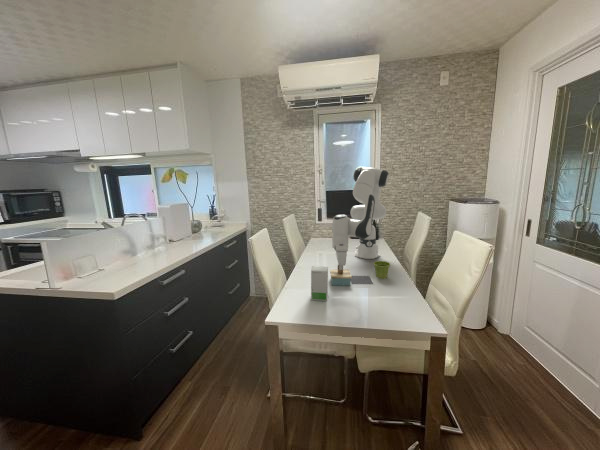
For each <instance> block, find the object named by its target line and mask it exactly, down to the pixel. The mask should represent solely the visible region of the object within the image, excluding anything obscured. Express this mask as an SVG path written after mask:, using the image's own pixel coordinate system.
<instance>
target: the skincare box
mask: <svg viewBox="0 0 600 450" xmlns="http://www.w3.org/2000/svg"><path fill="white" fill-rule="evenodd" d="M328 277H329V267H328V266H317V265H316V266H315V265H314V266H311V270H310V282H311V283H310V300H311V301H320V302H328V295H329V293H328V291H329V288H328V284H329V278H328Z"/></svg>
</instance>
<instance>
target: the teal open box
mask: <svg viewBox="0 0 600 450" xmlns="http://www.w3.org/2000/svg"><path fill="white" fill-rule="evenodd" d="M330 281H331V286H332V287H335V286H337V287H338V286H339V287H341V286H343V287H351V281H350V278H339V279H331V278H330Z"/></svg>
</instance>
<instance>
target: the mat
mask: <svg viewBox="0 0 600 450" xmlns="http://www.w3.org/2000/svg"><path fill="white" fill-rule="evenodd" d="M351 276H352V278H350V285H374V282H373V280H372V279H371V277H370V275H351Z"/></svg>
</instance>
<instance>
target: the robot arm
mask: <svg viewBox="0 0 600 450" xmlns="http://www.w3.org/2000/svg"><path fill="white" fill-rule="evenodd" d="M353 180H354V182H355V184H354V187H353V189H352V195H353V197H354V199H355V200H356V201H357V202H359V203H361V204H359V205H353V206H352V207H351V208H350V212H349V213H350V216H351V218H350V217H348V215H347V214H336V215H335V216H333V218H332V224H331V225H332V226H331V229H332V230H331V232H332V238H331V239H332V240H331V243H332V244H331V247H332V248H333V249H334V252H335V256H336V260H337V266H338V265H339V270H342V269H343V270H344V266H346V264H347V255H348V253H347V252H348V251H349V237H352V238H353V237H354V238H358V239H359V242H358V245H356V246H355V251H354V257H357V258H360V259H366V260H371V259H376V258H379V257H381V254H380V253H379V245H378V244H377V238H376V237H377V235H376V227H375V226H374V225H373V220H381V219H384V218H385V217H386V216H387V212H388V211H387V208H386V206H385V205H383V204H382V203H381V201H380V191H381V188H384V187H385V186H387V184H388V183H389V180H390V174H389V172H388V171H387V170H385V169H381V168H376V167H369V166H368V167H366V166H358V167H357V168H355V170H354V171H353Z"/></svg>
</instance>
